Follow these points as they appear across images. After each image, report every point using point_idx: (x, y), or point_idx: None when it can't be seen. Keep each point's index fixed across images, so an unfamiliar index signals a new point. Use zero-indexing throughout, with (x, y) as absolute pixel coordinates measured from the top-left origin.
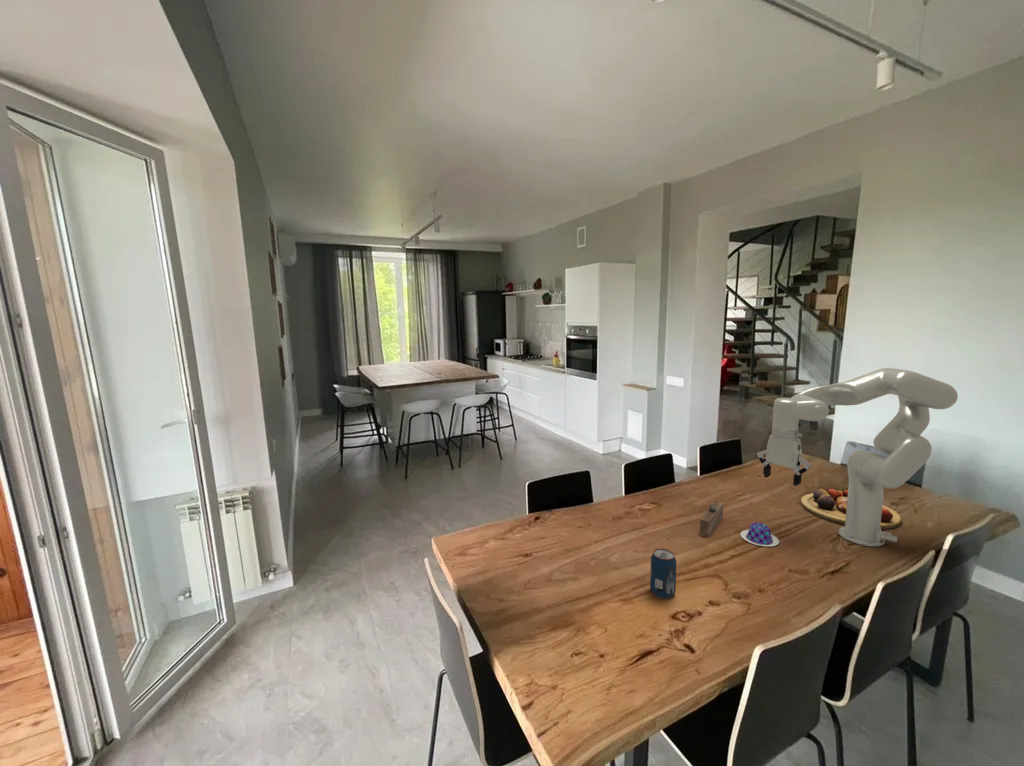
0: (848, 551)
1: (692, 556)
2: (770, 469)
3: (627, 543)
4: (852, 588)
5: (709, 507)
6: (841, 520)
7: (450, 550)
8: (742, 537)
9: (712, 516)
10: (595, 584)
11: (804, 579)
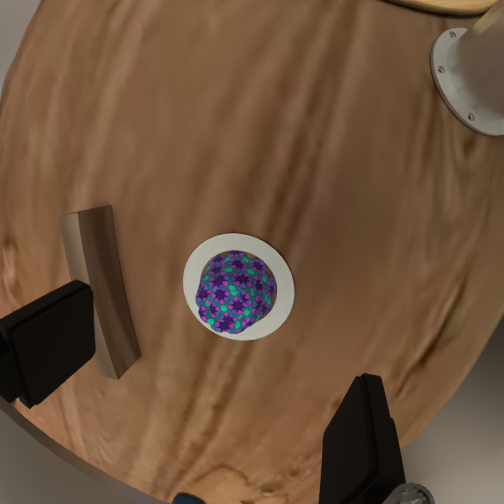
0: (468, 203)
1: (164, 433)
2: (44, 322)
3: (85, 424)
4: (446, 392)
5: None
6: (421, 4)
7: None
8: (198, 318)
9: (104, 343)
10: None
11: None
